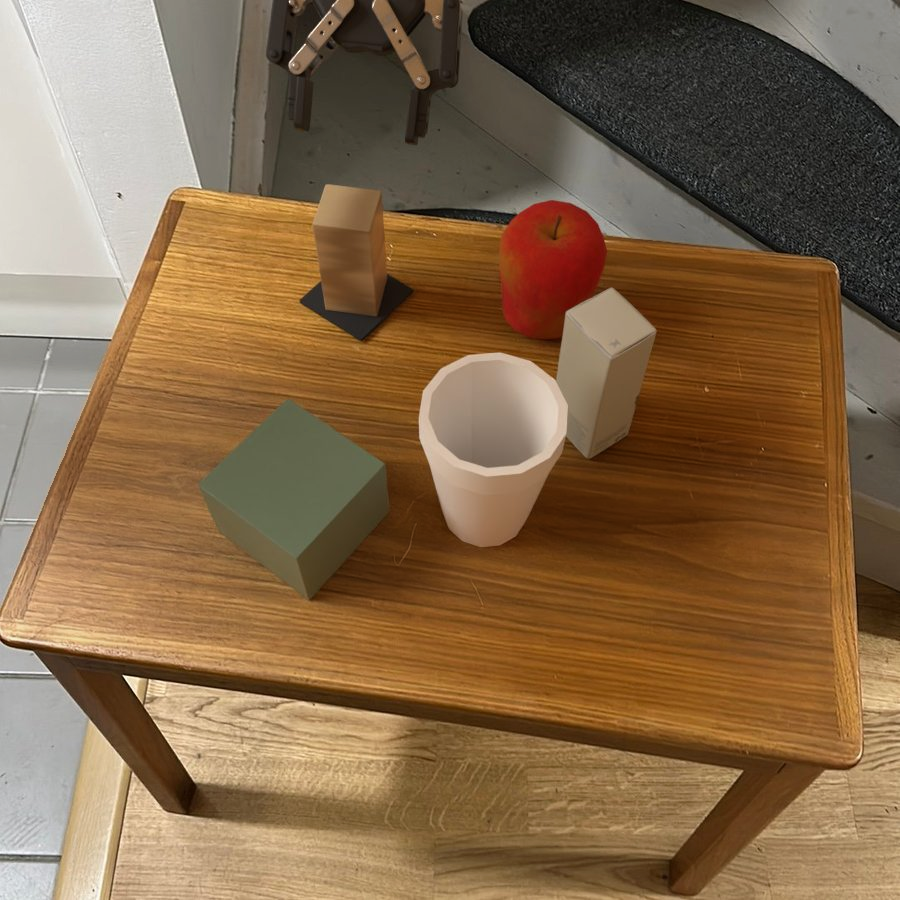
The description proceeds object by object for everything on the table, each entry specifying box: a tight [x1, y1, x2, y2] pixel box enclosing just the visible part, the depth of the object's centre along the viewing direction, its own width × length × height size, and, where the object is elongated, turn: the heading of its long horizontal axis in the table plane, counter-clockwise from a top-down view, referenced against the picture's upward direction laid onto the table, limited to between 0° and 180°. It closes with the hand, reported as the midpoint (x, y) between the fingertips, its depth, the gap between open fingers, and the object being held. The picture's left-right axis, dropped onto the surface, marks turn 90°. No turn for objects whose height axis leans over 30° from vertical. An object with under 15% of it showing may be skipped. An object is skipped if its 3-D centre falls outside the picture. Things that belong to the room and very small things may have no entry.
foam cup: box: [418, 351, 568, 548], centre depth 64 cm, size 10×9×13 cm
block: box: [311, 183, 388, 317], centre depth 75 cm, size 4×4×10 cm
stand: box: [197, 397, 390, 601], centre depth 65 cm, size 9×9×7 cm
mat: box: [299, 273, 415, 343], centre depth 80 cm, size 7×7×1 cm
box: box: [555, 287, 657, 460], centre depth 68 cm, size 5×4×13 cm
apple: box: [498, 199, 608, 340], centre depth 74 cm, size 9×8×12 cm
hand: (356, 137), depth 70 cm, fingers open, 8 cm apart
